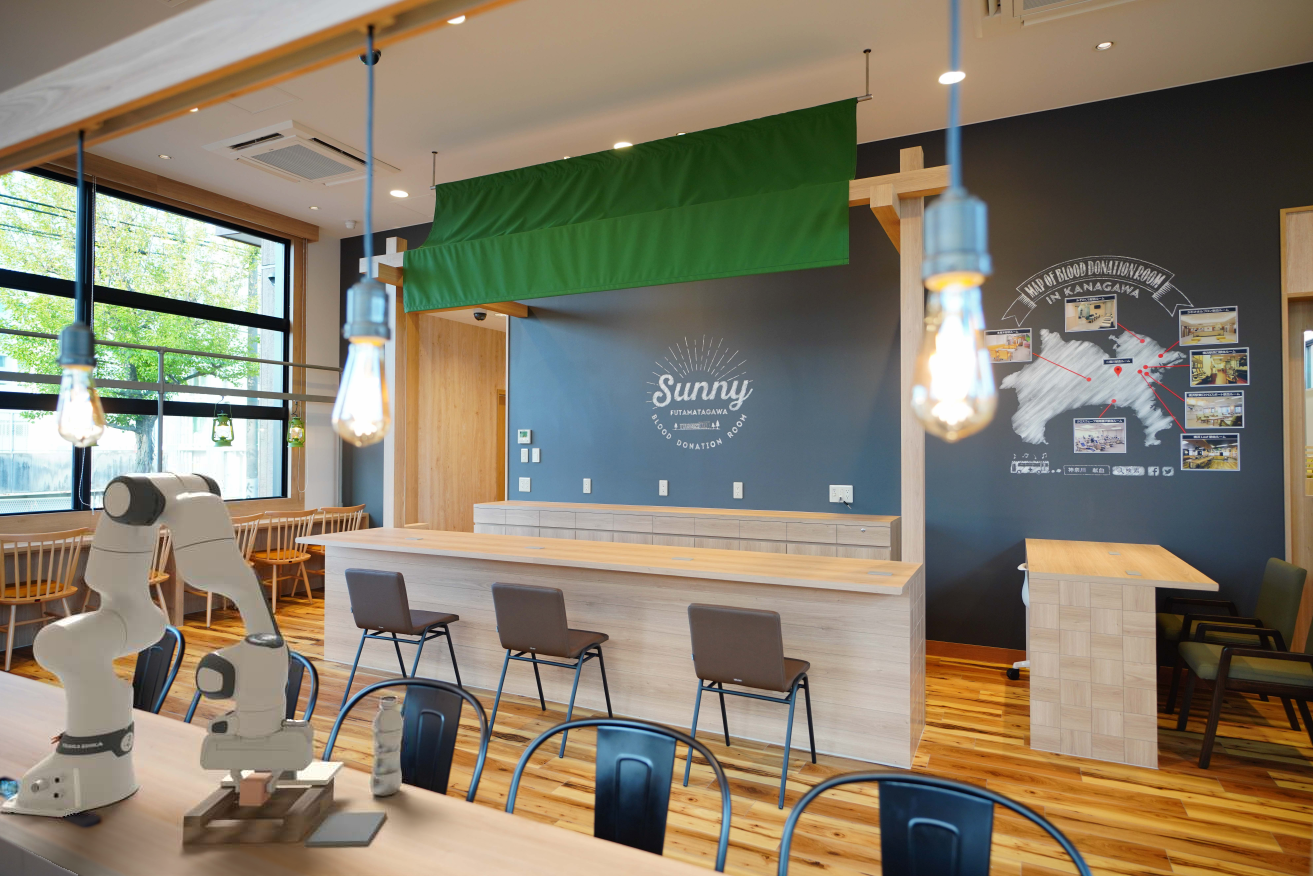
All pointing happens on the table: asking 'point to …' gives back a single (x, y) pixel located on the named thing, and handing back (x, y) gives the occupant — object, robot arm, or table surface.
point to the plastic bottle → (387, 748)
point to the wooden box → (257, 816)
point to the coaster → (347, 829)
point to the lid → (298, 775)
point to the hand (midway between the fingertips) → (255, 791)
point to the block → (254, 789)
